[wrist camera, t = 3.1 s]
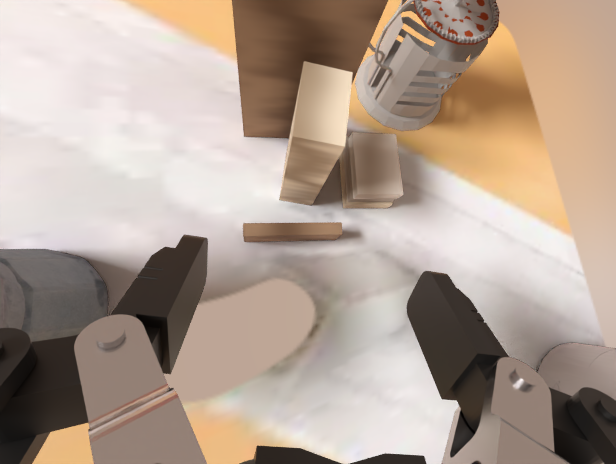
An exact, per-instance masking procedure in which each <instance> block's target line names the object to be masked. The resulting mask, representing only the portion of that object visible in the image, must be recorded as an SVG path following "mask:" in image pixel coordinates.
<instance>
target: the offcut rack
mask: <svg viewBox="0 0 616 464" xmlns="http://www.w3.org/2000/svg"><path fill="white" fill-rule="evenodd" d="M387 2H388V0H232V6H233V17H234V28H235V39H236V51H237V62H238V73H239V84H240V96H241V107H242V118H243V130H244V136H248V137H274V138H289V137H290V132H291V126H292V121H293V116H294V111H295V105H296V100H297V95H298V90H299V85H300V79H301V74H302V69H303V64H304V61H306V62H310V63H314V64H319V65H323V66H327V67H331V68H336V69H340V70H344V71H349V72H353V74H352V82H353V80H354V78H355V76H356V73H357V71H358V69H359V66H360V64H361V62H362V59H363V57H364V55H365V52H366V50H367V48H368V46H369V43H370V41H371V39H372V36H373V34H374V32H375V29H376V27H377V25H378V22H379V20H380V18H381V16H382V13H383V11H384V9H385V6H386V4H387ZM351 85H352V84H351ZM341 235H342V223H243V237H244V241H245V242H261V241H311V240H336V239H337V238H338V237H339V236H341Z"/></svg>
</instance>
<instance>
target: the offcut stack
mask: <svg viewBox="0 0 616 464" xmlns="http://www.w3.org/2000/svg"><path fill="white" fill-rule="evenodd" d="M339 163H340V175H341V188H342V201H343V208H388V207H390V206H391V205H393V201H394V200H395V199H398V198H399V197H401V196H402V195H403V186H402V178H401V170H400V162H399V154H398V146H397V138H396V134H383V133H359V132H352V134H351V135H350V136H346V143H345V148H344V149H343V151H342V153H341V155H340V156H339Z"/></svg>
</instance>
